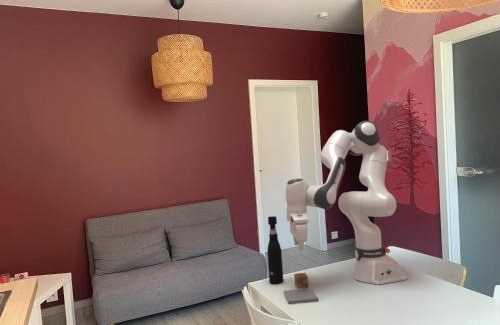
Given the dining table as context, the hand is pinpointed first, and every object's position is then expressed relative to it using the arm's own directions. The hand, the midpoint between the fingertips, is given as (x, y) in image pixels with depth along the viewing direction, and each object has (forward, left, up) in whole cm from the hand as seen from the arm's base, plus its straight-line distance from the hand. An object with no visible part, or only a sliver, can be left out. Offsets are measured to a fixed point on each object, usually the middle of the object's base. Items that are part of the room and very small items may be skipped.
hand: (298, 247), depth 166 cm
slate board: (+3, +12, -17) cm, 21 cm away
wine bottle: (+10, -8, -17) cm, 21 cm away
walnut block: (0, 0, -17) cm, 17 cm away
